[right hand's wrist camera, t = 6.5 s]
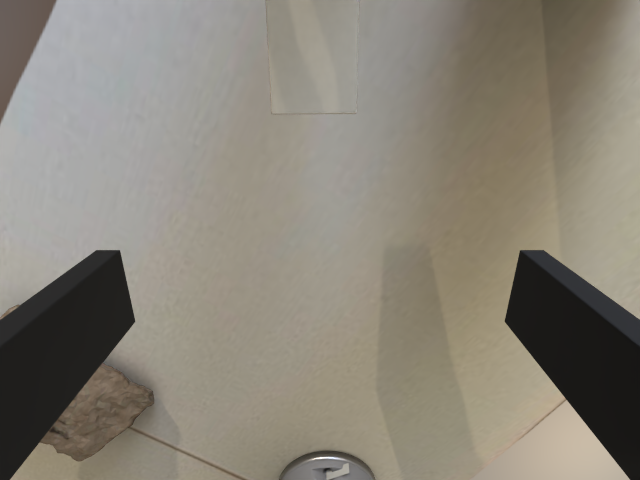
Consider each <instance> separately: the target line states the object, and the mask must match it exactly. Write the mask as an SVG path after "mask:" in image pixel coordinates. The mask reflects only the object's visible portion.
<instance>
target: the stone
mask: <svg viewBox="0 0 640 480" xmlns="http://www.w3.org/2000/svg"><path fill="white" fill-rule="evenodd" d="M19 306H20V305H16V306H14V307H12V308H10V309H8V310H7V312H6V313H4V314H3V315H2V316H1V317H0V320H1V319H2V318H4V317H5V316H6V315H8V314H9V313H10V312H12V311H13V310H15V309H16V308H17V307H19ZM153 403H154V396H153V391H151V390H149V389H147V388H145V387H144V386H140V385H137V384H135V383H133V382H131V381H129V380H128V378H126V377H125V376H124V375H123V373H122V372H120V371H118V370H116V369H114V368H113V367H110V366H107V365H105V364H103V363H102V364H101V365H100V367H99V368H98V369H97V370H96V372H95V373H94V374H93V375H92V377H91V378H90V379H89V380H88V382H87V383H86V384H85V385H84V387H83V388H82V389H81V391H80V392H79V393H78V394H77V396H76V397H75V398H74V399H73V401H72V402H71V403H70V404H69V406H68V407H67V408H66V409H65V411H64V412H63V413H62V414H61V416H60V417H59V418H58V419H57V421H56V422H55V423H54V425H53V426H52V427H51V428H50V430H49V431H48V432H47V433H46V435H45V436H44V437H43V438H42V440H41V441H40V442H41V443H44V444H50V445H53V446H54V448H55V449H56V450H57V453H64V454H66V455H69V456H71V457H72V458H73V459H74V460H76V461H82V460H84V459H86V458H88V457H90V456H92V455H93V454H95V453H96V452H98V451H99V450H100V449H102V448H103V447H104V446H105V445H106V444H107V443H108V442H109V441H111V440H112V439H113V438H114V437H116V436H117V435H119V434H120V433H122V432H123V431H124V430H126V429H127V428H128V427H130V426H131V425H133V422H134V420H135V418H136V417H137V416H139V415H140V413H141V412H142V411H143V410H144V409H145V408H146V407H147V406H151V405H152V404H153Z"/></svg>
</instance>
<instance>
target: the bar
mask: <svg viewBox="0 0 640 480" xmlns="http://www.w3.org/2000/svg"><path fill="white" fill-rule="evenodd" d="M266 19H267V38H268V57H269V77H270V96H271V113H272V114H356V112H357V73H358V33H359V0H266Z"/></svg>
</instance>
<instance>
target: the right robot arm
mask: <svg viewBox="0 0 640 480" xmlns="http://www.w3.org/2000/svg"><path fill="white" fill-rule="evenodd" d="M134 323H135V318H134V313H133V309H132V304H131V300H130V295H129V290H128V286H127V281H126V276H125V272H124V267H123V263H122V258H121V253H120V250H96V251H95V252H93V253H92V254H91V255H89V256H88V257H87V258H85V259H84V260H82V261H81V262H80V263H78V264H77V265H75V266H74V267H73V268H71V269H70V270H69V271H67V272H66V273H64V274H63V275H62V276H60V277H59V278H57V279H56V280H55V281H53V282H52V283H51V284H49V285H48V286H46V287H45V288H44V289H42V290H41V291H39V292H38V293H37V294H35V295H34V296H33V297H31V298H30V299H28V300H27V301H26V302H24V303H23V304H21V305H20V306H19V307H17V308H16V309H15V310H13V311H12V312H10V313H9V314H8V315H6V316H5V317H4V318H2V319H1V320H0V480H10V479H11V477H12V476H13V475H14V474H15V472H16V471H17V470H18V469H19V467H20V466H21V465H22V464H23V462H24V461H25V460H26V459H27V457H28V456H29V455H30V454H31V452H32V451H33V450H34V448H35V447H36V446H37V445H38V443H39V442H40V441H41V440H42V438H43V437H44V436H45V435H46V433H47V432H48V431H49V430H50V428H51V427H52V426H53V425H54V423H55V422H56V421H57V419H58V418H59V417H60V416H61V414H62V413H63V412H64V411H65V409H66V408H67V407H68V406H69V404H70V403H71V402H72V401H73V399H74V398H75V397H76V396H77V394H78V393H79V392H80V391H81V389H82V388H83V387H84V385H85V384H86V383H87V382H88V380H89V379H90V378H91V377H92V375H93V374H94V373H95V372H96V370H97V369H98V368H99V367H100V365H101V364H102V363H103V362H104V360H105V359H106V358H107V357H108V355H109V354H110V353H111V351H112V350H113V349H114V348H115V346H116V345H117V344H118V343H119V341H120V340H121V339H122V338H123V336H124V335H125V334H126V333H127V331H128V330H129V329H130V328H131V326H132V325H133V324H134ZM505 323H506V324H507V325H508V326H509V328H510V329H511V330H512V331H513V333H514V334H515V335H516V336H517V338H518V339H519V340H520V341H521V343H522V344H523V345H524V346H525V348H526V349H527V350H528V351H529V353H530V354H531V355H532V357H533V358H534V359H535V360H536V362H537V363H538V364H539V365H540V367H541V368H542V369H543V370H544V372H545V373H546V374H547V375H548V377H549V378H550V379H551V380H552V382H553V383H554V384H555V385H556V387H557V388H558V389H559V391H560V392H561V393H562V394H563V396H564V397H565V398H566V399H567V401H568V402H569V403H570V404H571V406H572V407H573V408H574V409H575V411H576V412H577V413H578V414H579V416H580V417H581V418H582V419H583V421H584V422H585V423H586V424H587V426H588V427H589V428H590V430H591V431H592V432H593V433H594V435H595V436H596V437H597V438H598V440H599V441H600V442H601V443H602V445H603V446H604V447H605V448H606V450H607V451H608V452H609V454H610V455H611V456H612V457H613V459H614V460H615V461H616V462H617V464H618V465H619V466H620V467H621V469H622V470H623V471H624V472H625V474H626V475H627V476H628V477H629V479H630V480H640V320H639V319H638V318H636V317H635V316H634V315H632V314H631V313H630V312H628V311H627V310H625V309H624V308H623V307H621V306H620V305H619V304H617V303H616V302H614V301H613V300H612V299H610V298H609V297H607V296H606V295H605V294H603V293H602V292H601V291H599V290H598V289H596V288H595V287H594V286H592V285H591V284H589V283H588V282H587V281H585V280H584V279H583V278H581V277H580V276H578V275H577V274H576V273H574V272H573V271H571V270H570V269H569V268H567V267H566V266H565V265H563V264H562V263H560V262H559V261H558V260H556V259H555V258H553V257H552V256H551V255H549V254H548V253H547V252H545V251H544V250H520V253H519V258H518V263H517V267H516V272H515V276H514V281H513V286H512V290H511V295H510V300H509V304H508V309H507V313H506V318H505ZM279 480H375V477H374V475H373V473H372V471H371V469H370V468H369V467H368V466H367V465H366V464H365V463H364V462H363V461H361V460H360V459H358V458H356V457H354V456H352V455H349V454H346V453H342V452H335V451H321V452H314V453H310V454H307V455H304V456H302V457H299V458H298V459H296V460H294V461H293V462H291V463H290V464H289V465H288V466H287V467H286V468H285V469H284V471H283V472H282V474H281V476H280V479H279Z"/></svg>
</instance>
